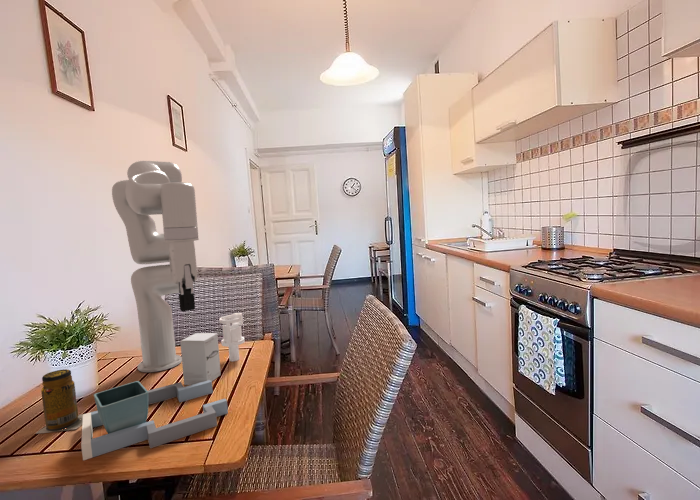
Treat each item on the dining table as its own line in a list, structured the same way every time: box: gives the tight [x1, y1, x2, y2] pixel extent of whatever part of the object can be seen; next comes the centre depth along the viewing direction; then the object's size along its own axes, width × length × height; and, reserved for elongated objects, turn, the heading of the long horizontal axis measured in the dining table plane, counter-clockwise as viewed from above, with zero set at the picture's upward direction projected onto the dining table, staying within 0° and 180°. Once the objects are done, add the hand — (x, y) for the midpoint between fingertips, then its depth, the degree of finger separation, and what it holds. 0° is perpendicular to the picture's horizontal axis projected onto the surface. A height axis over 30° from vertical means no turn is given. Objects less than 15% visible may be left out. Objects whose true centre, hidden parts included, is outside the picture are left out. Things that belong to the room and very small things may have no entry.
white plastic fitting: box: [219, 312, 245, 362], centre depth 122 cm, size 7×7×15 cm
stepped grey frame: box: [80, 380, 229, 461], centre depth 87 cm, size 23×28×3 cm
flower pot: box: [93, 380, 149, 434], centre depth 82 cm, size 9×9×9 cm
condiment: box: [35, 368, 83, 435], centre depth 87 cm, size 7×8×12 cm
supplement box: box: [179, 332, 221, 386], centre depth 108 cm, size 7×7×13 cm
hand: (187, 309), depth 94 cm, fingers closed
